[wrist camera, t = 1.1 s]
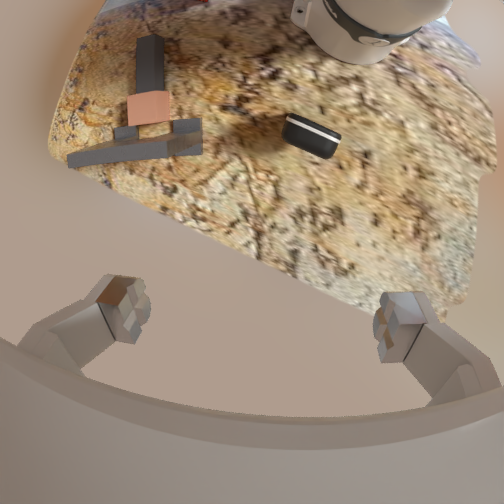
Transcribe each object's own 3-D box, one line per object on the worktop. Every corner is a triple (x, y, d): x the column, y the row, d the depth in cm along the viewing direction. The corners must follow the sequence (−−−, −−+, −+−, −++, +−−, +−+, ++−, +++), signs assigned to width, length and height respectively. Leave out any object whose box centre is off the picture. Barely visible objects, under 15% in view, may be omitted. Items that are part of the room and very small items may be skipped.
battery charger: (279, 133, 39) (276, 141, 29) (288, 111, 37) (289, 111, 27) (321, 151, 39) (332, 166, 30) (331, 130, 38) (346, 137, 28)
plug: (142, 43, 32) (127, 38, 28) (169, 37, 32) (156, 31, 28) (143, 123, 40) (128, 126, 36) (169, 120, 39) (156, 122, 35)
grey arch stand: (117, 127, 40) (65, 141, 28) (201, 117, 39) (165, 123, 27) (120, 159, 43) (70, 181, 31) (203, 153, 42) (168, 174, 30)
